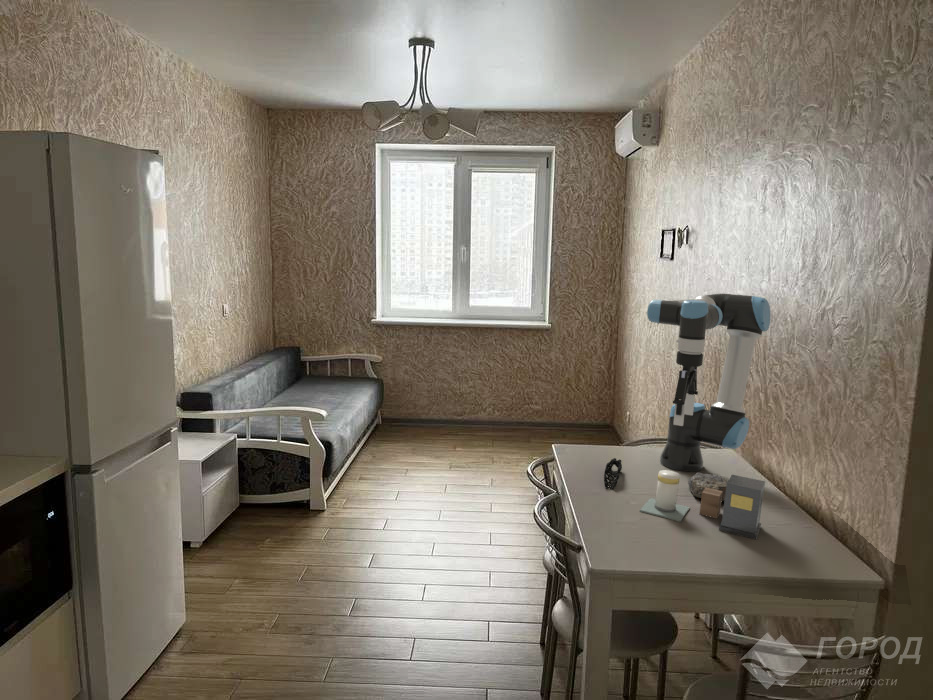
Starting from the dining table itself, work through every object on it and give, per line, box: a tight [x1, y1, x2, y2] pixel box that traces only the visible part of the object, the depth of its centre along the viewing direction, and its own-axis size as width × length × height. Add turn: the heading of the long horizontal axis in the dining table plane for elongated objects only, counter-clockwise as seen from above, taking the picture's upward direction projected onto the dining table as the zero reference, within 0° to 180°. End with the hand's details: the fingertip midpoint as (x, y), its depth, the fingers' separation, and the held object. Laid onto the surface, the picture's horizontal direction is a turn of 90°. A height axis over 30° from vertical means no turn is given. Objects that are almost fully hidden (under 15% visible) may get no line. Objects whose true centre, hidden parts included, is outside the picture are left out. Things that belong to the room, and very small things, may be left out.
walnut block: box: [699, 488, 723, 519], centre depth 203 cm, size 5×5×7 cm
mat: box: [639, 497, 690, 522], centre depth 204 cm, size 12×12×1 cm
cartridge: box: [655, 469, 681, 512], centre depth 203 cm, size 6×6×11 cm
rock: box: [687, 472, 728, 503], centre depth 217 cm, size 13×6×15 cm
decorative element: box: [603, 457, 623, 490], centre depth 228 cm, size 22×5×6 cm, turn 163°
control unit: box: [718, 474, 766, 540], centre depth 192 cm, size 10×10×14 cm
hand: (683, 419), depth 206 cm, fingers open, 13 cm apart
